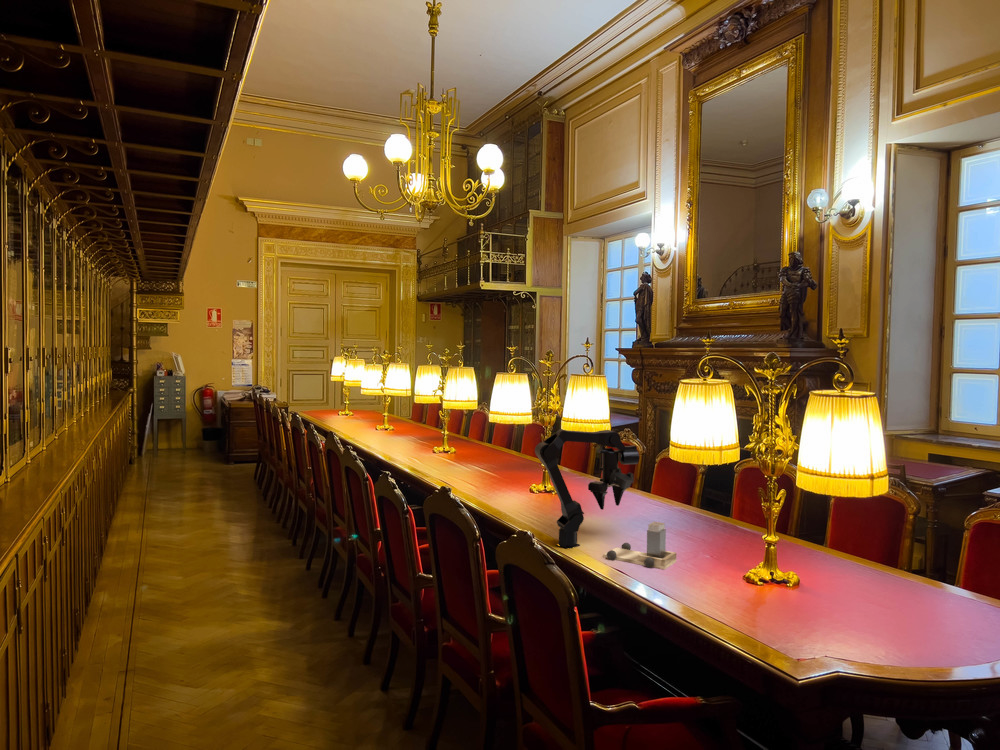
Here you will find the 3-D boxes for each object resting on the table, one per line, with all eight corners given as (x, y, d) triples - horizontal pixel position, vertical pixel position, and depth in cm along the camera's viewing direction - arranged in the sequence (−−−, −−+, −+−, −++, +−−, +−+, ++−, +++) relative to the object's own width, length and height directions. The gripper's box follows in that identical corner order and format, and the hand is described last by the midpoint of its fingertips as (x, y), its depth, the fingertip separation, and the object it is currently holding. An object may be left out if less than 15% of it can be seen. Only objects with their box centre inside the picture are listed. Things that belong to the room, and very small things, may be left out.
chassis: (601, 558, 230) (601, 549, 230) (617, 549, 240) (617, 540, 240) (663, 570, 217) (663, 561, 217) (677, 560, 227) (677, 551, 227)
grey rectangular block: (646, 560, 224) (647, 524, 224) (652, 556, 229) (653, 521, 228) (659, 562, 222) (660, 526, 221) (665, 559, 226) (665, 523, 226)
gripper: (612, 471, 235) (612, 515, 236) (643, 464, 248) (643, 507, 249) (587, 466, 243) (587, 510, 244) (618, 461, 256) (618, 502, 257)
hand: (609, 507), depth 248 cm, fingers open, 9 cm apart
